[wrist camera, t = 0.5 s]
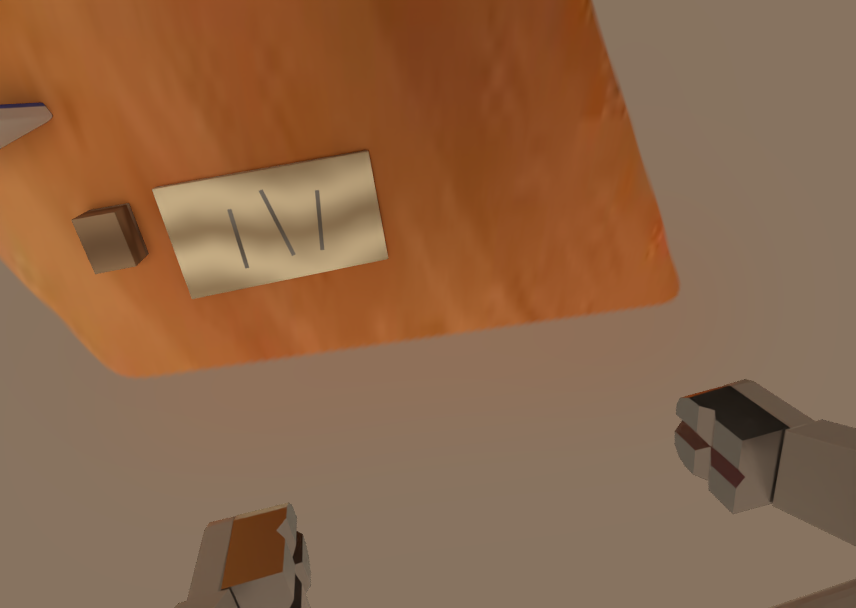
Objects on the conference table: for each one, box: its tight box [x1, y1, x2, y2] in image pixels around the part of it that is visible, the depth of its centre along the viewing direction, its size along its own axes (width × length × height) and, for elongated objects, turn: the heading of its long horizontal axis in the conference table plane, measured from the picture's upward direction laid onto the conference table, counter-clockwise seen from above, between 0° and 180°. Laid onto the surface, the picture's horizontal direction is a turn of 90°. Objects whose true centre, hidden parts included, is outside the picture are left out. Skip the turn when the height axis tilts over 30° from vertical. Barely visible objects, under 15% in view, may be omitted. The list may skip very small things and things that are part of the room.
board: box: [152, 150, 388, 299], centre depth 51 cm, size 11×20×1 cm, turn 98°
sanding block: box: [72, 203, 149, 274], centre depth 47 cm, size 5×4×4 cm
